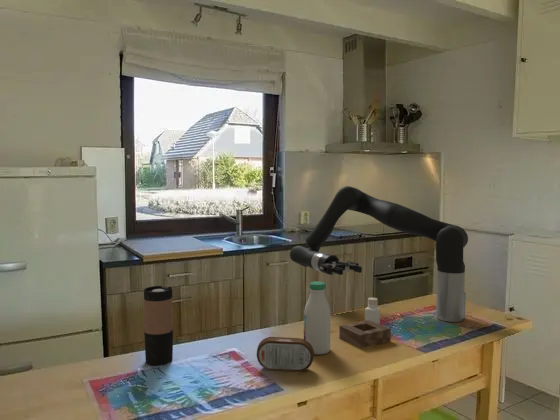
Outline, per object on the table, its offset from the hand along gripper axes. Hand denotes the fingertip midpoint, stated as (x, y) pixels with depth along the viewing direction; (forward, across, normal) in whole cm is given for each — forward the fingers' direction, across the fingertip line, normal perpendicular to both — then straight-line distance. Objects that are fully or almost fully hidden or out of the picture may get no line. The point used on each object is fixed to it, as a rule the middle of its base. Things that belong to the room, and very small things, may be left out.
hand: (351, 270), depth 167 cm
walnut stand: (+20, -11, +17) cm, 29 cm away
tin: (+28, -44, +17) cm, 55 cm away
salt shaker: (+12, 0, +17) cm, 21 cm away
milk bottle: (+20, -29, +17) cm, 39 cm away
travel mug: (+6, -71, +18) cm, 73 cm away
